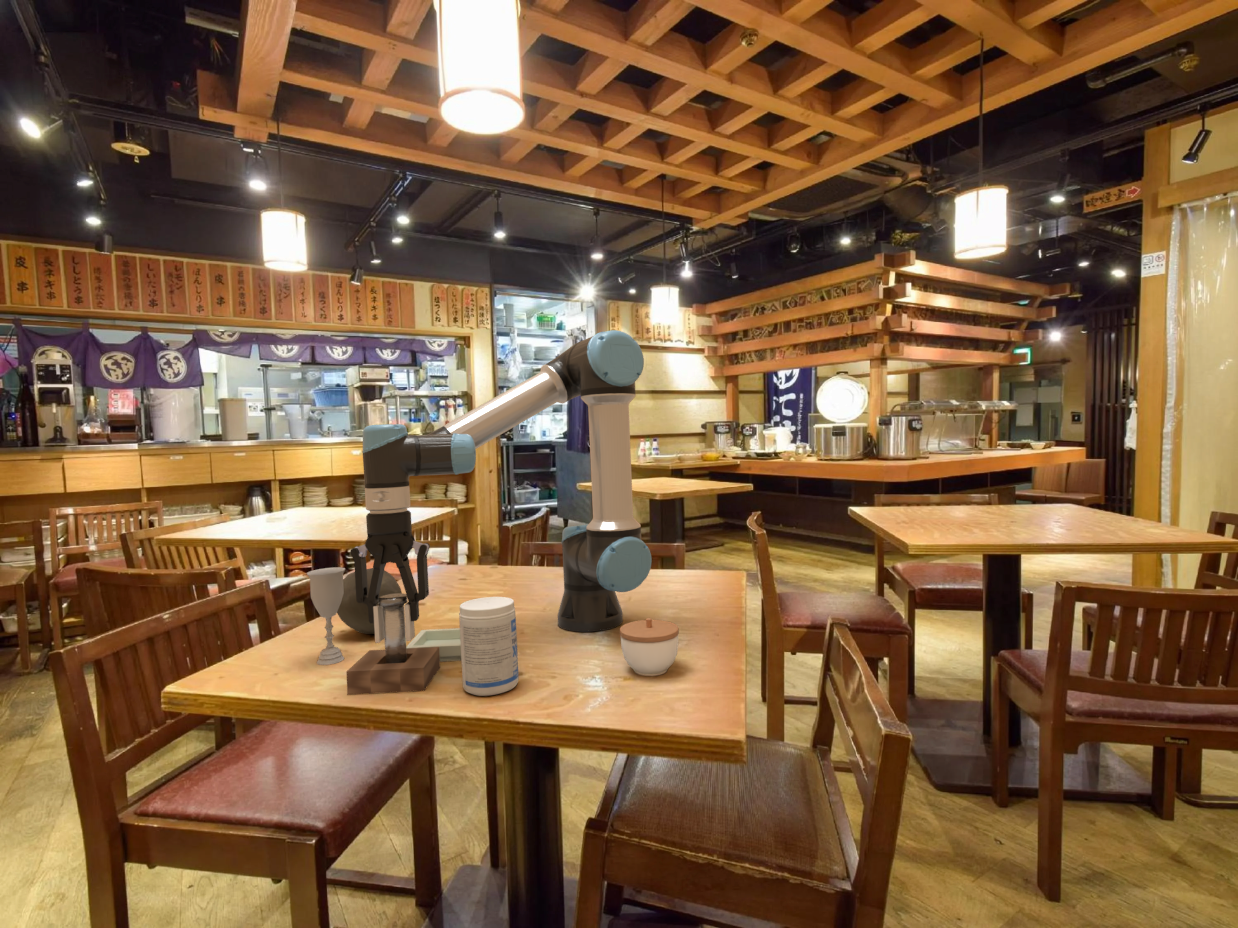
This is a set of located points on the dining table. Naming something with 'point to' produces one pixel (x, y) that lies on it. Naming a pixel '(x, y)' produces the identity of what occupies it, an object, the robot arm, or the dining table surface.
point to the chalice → (327, 606)
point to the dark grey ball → (358, 612)
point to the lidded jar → (649, 645)
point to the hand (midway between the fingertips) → (395, 639)
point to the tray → (440, 642)
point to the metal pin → (394, 627)
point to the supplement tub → (488, 645)
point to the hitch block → (393, 672)
